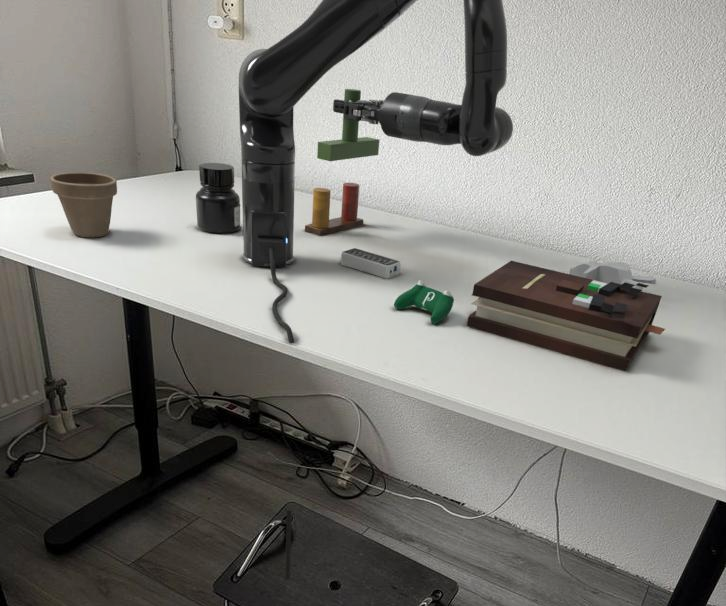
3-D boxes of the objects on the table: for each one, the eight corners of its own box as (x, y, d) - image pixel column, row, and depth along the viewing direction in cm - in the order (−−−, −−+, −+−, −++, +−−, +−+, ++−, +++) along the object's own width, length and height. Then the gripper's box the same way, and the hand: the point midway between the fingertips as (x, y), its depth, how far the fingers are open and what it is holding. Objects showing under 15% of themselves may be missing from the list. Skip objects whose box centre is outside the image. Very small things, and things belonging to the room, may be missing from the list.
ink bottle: (248, 232, 138) (247, 170, 131) (208, 236, 134) (205, 172, 127) (228, 220, 144) (226, 160, 137) (190, 223, 140) (186, 162, 133)
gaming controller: (442, 333, 107) (462, 303, 107) (434, 321, 103) (455, 289, 104) (399, 316, 111) (418, 286, 112) (390, 303, 108) (410, 273, 108)
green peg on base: (330, 161, 131) (333, 91, 124) (317, 158, 133) (319, 89, 126) (378, 155, 142) (383, 90, 135) (365, 152, 143) (370, 88, 136)
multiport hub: (354, 259, 129) (354, 247, 128) (400, 273, 124) (401, 261, 123) (340, 264, 126) (340, 251, 125) (386, 278, 121) (388, 266, 120)
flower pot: (122, 225, 135) (115, 172, 129) (124, 241, 126) (117, 185, 121) (60, 225, 132) (51, 170, 126) (58, 242, 123) (48, 183, 117)
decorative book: (501, 251, 115) (680, 292, 104) (493, 293, 119) (664, 337, 108) (457, 277, 101) (658, 328, 90) (449, 324, 105) (641, 378, 94)
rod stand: (320, 235, 141) (322, 193, 136) (304, 230, 143) (306, 188, 138) (363, 225, 151) (366, 185, 146) (347, 220, 153) (350, 181, 148)
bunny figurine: (588, 254, 131) (663, 266, 122) (584, 280, 134) (656, 293, 125) (564, 261, 125) (640, 274, 116) (560, 289, 128) (634, 303, 119)
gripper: (433, 94, 128) (363, 83, 136) (390, 95, 118) (318, 83, 126) (427, 137, 132) (360, 124, 140) (386, 142, 123) (316, 127, 131)
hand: (340, 105), depth 133 cm, fingers closed on green peg on base, 3 cm apart
